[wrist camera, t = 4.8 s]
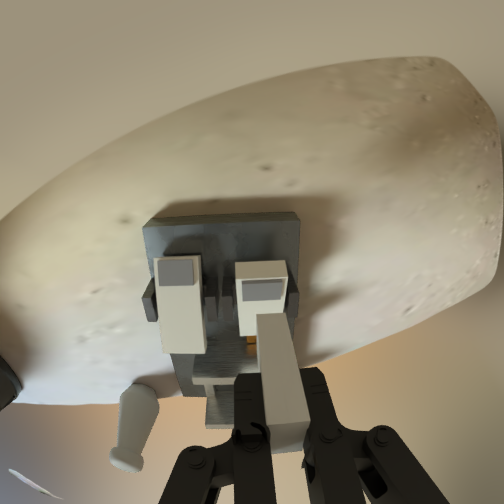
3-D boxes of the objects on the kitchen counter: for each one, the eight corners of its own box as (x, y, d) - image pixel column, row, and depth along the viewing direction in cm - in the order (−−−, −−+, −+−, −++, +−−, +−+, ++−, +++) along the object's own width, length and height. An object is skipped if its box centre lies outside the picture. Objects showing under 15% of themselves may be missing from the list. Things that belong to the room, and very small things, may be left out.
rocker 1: (167, 346, 23) (162, 354, 21) (159, 256, 23) (152, 258, 21) (207, 346, 23) (204, 355, 21) (200, 255, 23) (197, 256, 21)
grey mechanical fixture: (185, 382, 33) (178, 428, 26) (150, 218, 24) (120, 252, 17) (284, 379, 34) (293, 425, 27) (294, 211, 25) (316, 244, 18)
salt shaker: (138, 405, 36) (122, 475, 24) (116, 382, 33) (92, 456, 22) (169, 400, 35) (157, 477, 23) (147, 376, 33) (126, 459, 21)
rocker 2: (239, 321, 26) (240, 339, 24) (235, 262, 20) (235, 282, 19) (277, 319, 26) (279, 336, 25) (284, 260, 20) (288, 280, 19)
